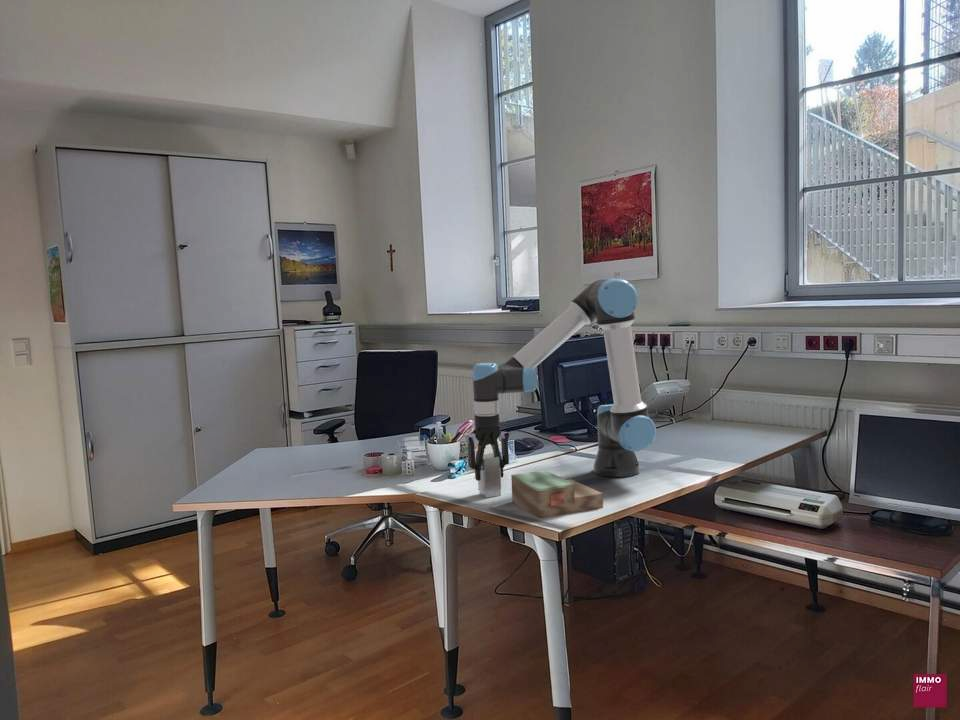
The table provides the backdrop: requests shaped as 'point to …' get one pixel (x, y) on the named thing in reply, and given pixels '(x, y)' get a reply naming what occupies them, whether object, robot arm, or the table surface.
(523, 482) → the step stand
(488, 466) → the steel column
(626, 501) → the table surface
